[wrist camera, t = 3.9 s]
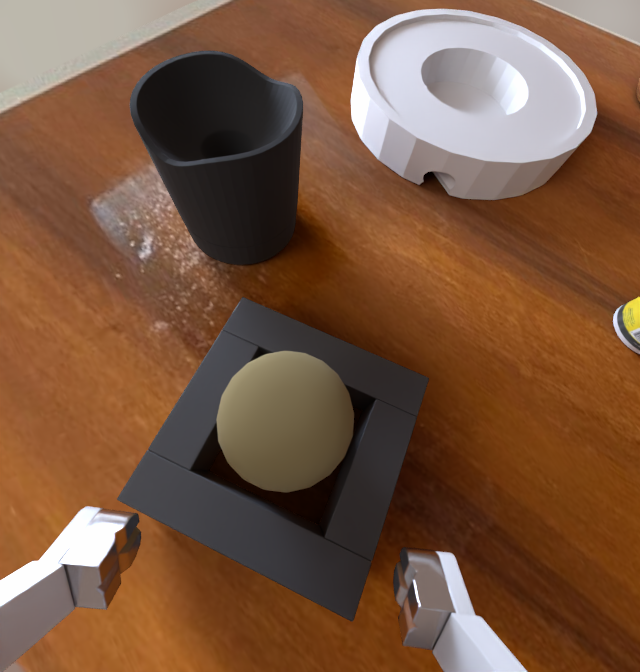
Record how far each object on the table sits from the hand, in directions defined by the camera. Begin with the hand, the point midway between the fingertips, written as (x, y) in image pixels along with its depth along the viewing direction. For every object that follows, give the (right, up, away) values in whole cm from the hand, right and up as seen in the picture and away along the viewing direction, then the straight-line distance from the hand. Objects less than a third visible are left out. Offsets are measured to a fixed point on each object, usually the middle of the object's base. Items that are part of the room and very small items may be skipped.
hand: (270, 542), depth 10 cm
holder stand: (0, 0, +11) cm, 11 cm away
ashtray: (+16, +30, +25) cm, 42 cm away
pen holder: (-5, +16, +18) cm, 24 cm away
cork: (0, 0, +11) cm, 11 cm away
